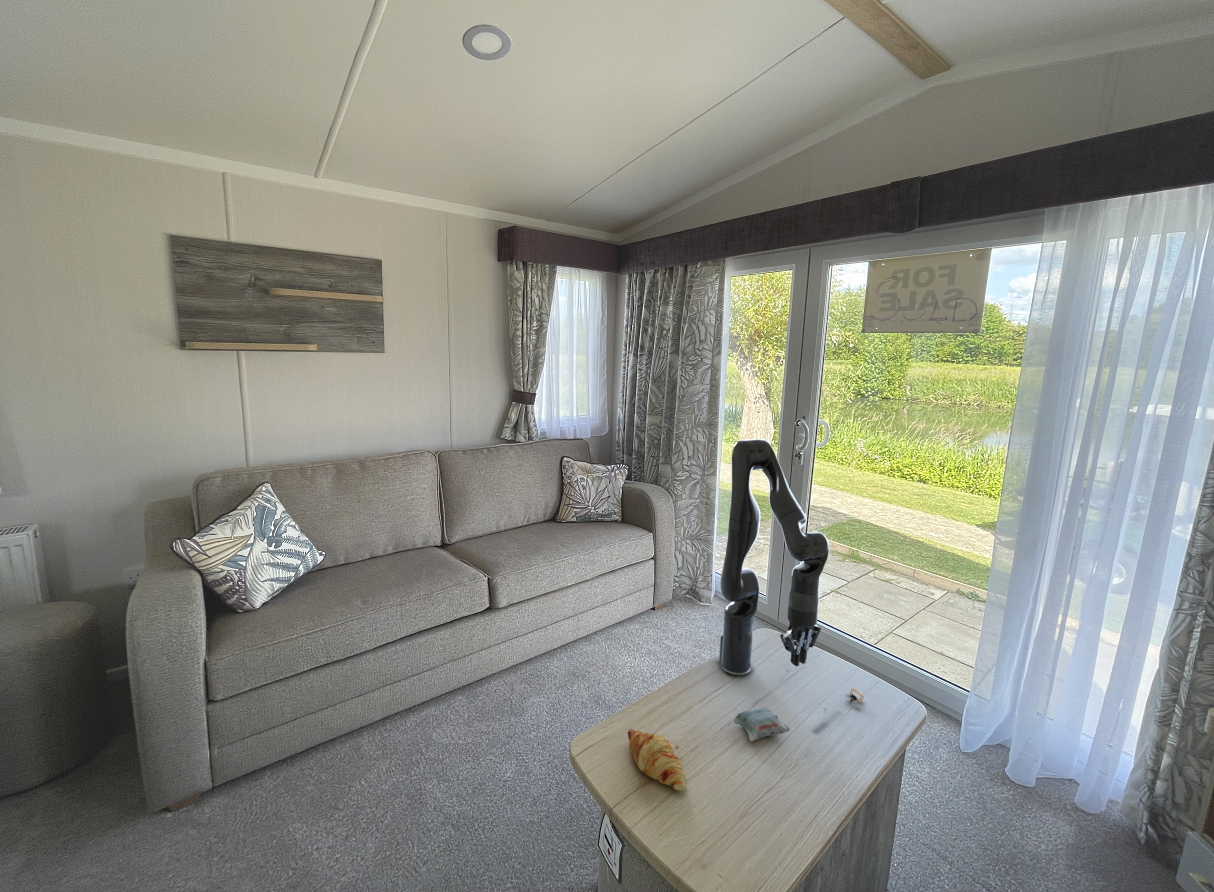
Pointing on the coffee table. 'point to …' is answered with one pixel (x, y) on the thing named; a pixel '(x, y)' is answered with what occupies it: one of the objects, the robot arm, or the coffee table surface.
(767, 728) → the packaged food
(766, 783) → the coffee table surface
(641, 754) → the croissant
